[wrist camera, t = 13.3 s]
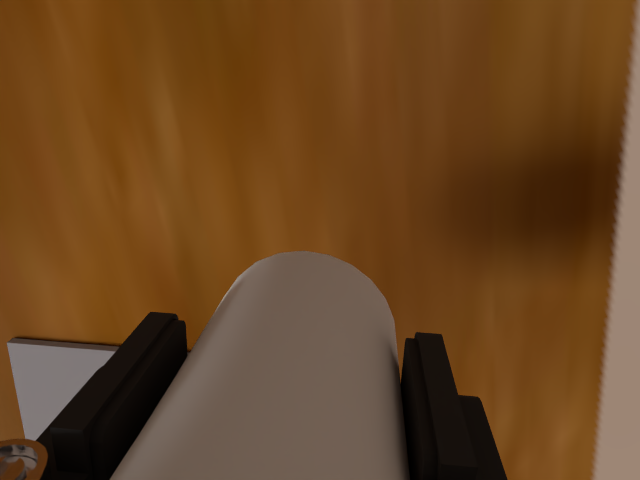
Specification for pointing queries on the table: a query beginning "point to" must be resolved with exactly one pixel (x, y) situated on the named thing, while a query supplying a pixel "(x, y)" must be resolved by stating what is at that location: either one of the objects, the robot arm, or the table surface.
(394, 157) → the table surface
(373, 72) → the table surface
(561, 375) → the table surface
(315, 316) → the beverage can
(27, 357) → the mat
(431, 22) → the table surface
